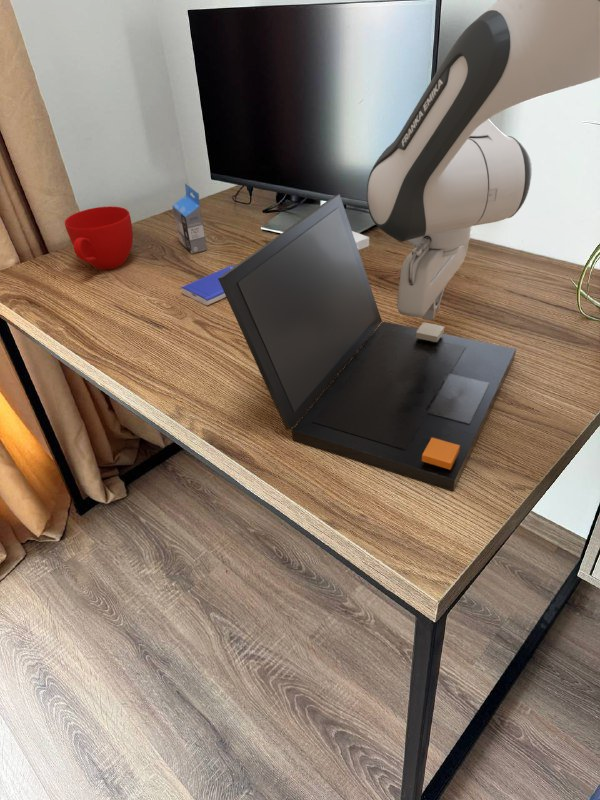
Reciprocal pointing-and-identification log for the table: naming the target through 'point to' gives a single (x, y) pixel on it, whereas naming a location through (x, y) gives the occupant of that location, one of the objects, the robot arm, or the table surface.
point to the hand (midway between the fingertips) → (430, 315)
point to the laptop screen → (303, 307)
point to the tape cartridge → (190, 222)
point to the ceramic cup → (101, 236)
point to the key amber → (440, 453)
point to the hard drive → (206, 288)
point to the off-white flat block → (429, 332)
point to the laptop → (408, 402)
